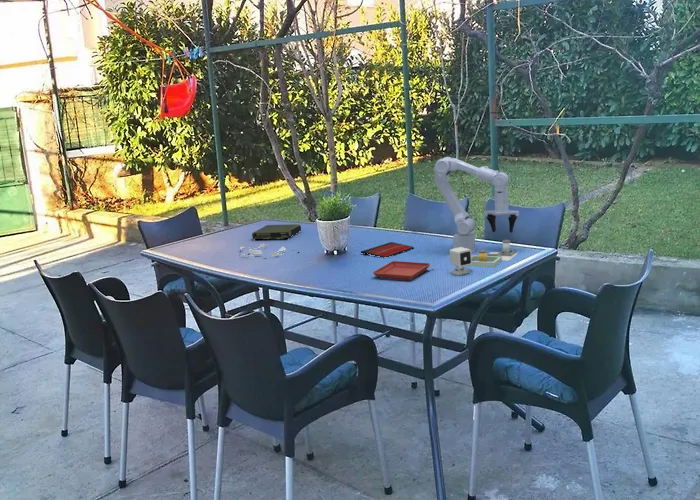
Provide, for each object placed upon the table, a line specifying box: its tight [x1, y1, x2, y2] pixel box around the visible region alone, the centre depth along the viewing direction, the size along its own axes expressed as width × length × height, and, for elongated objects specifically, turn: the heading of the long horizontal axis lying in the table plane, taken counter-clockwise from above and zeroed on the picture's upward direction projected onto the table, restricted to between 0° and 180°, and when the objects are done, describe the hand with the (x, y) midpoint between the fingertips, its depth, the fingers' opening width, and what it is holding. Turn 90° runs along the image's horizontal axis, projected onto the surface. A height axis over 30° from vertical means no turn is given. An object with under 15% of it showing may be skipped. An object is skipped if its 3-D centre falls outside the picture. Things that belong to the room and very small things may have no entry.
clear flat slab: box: [239, 242, 287, 256], centre depth 348 cm, size 35×24×3 cm
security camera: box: [449, 247, 473, 276], centre depth 279 cm, size 6×7×10 cm
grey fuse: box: [501, 239, 511, 253], centre depth 298 cm, size 3×3×6 cm
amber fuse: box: [477, 249, 488, 262], centre depth 287 cm, size 3×3×6 cm
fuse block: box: [487, 249, 519, 262], centre depth 297 cm, size 12×13×2 cm
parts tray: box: [467, 254, 503, 268], centre depth 288 cm, size 13×10×3 cm
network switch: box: [251, 223, 302, 240], centre depth 385 cm, size 23×23×5 cm
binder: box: [360, 241, 415, 258], centre depth 327 cm, size 16×2×21 cm
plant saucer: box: [372, 260, 431, 281], centre depth 286 cm, size 18×18×3 cm
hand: (502, 231), depth 302 cm, fingers open, 7 cm apart
